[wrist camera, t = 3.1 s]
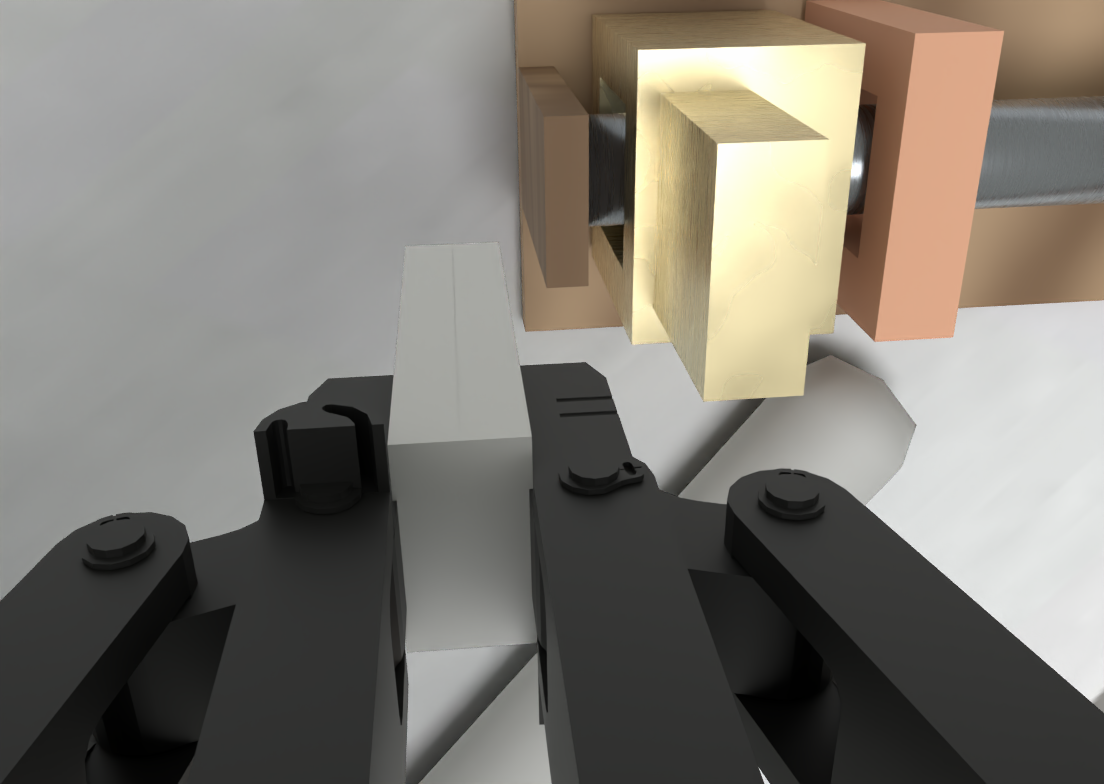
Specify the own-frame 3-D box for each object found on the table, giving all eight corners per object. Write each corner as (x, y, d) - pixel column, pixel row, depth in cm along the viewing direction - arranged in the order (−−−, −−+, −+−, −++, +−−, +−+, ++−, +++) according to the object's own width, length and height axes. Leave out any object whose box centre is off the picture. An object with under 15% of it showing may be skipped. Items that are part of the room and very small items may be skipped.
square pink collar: (784, 250, 32) (875, 341, 26) (806, 0, 29) (915, 33, 22) (847, 247, 32) (953, 337, 26) (875, -1, 29) (1004, 30, 23)
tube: (828, 344, 31) (357, 863, 38) (965, 456, 31) (472, 952, 38) (811, 314, 36) (399, 776, 43) (929, 410, 36) (500, 855, 43)
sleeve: (591, 255, 31) (676, 444, 21) (592, 14, 28) (691, 91, 18) (755, 247, 32) (919, 428, 21) (772, 10, 29) (974, 81, 18)
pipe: (547, 213, 29) (560, 247, 26) (545, 101, 27) (558, 124, 25) (1263, 181, 30) (1343, 210, 28) (1293, 75, 29) (1381, 94, 26)
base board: (523, 319, 34) (549, 437, 26) (511, -92, 28) (540, -84, 21) (1165, 285, 36) (1351, 385, 28) (1265, -104, 30) (1525, -102, 23)
